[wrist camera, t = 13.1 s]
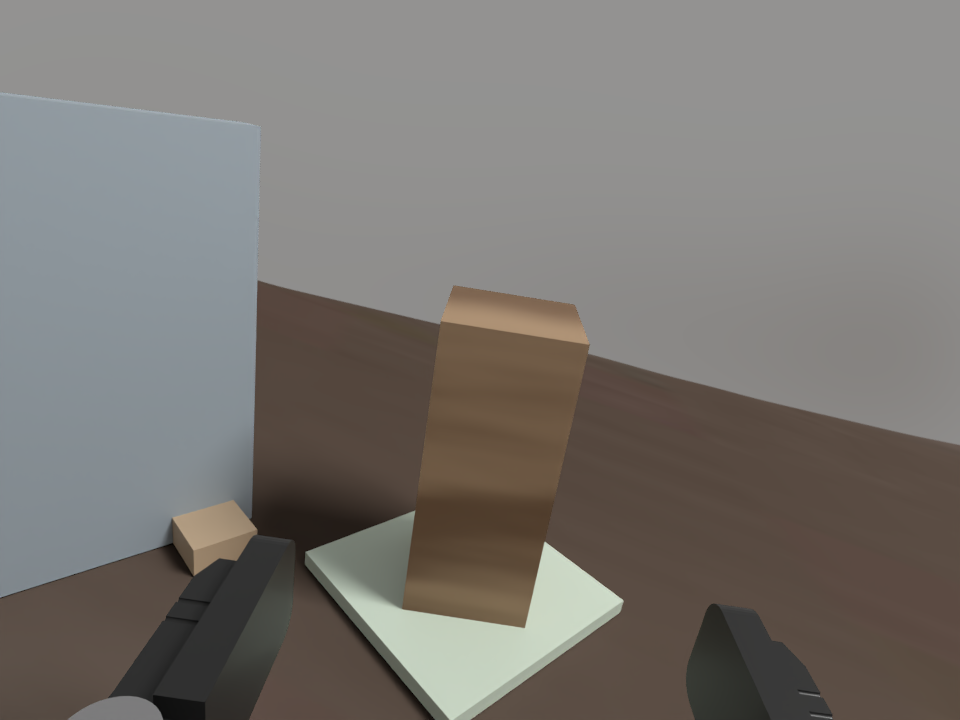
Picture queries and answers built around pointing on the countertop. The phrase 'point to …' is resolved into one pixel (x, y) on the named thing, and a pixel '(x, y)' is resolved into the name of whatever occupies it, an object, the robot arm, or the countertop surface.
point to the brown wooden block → (492, 453)
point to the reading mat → (456, 621)
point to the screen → (124, 336)
